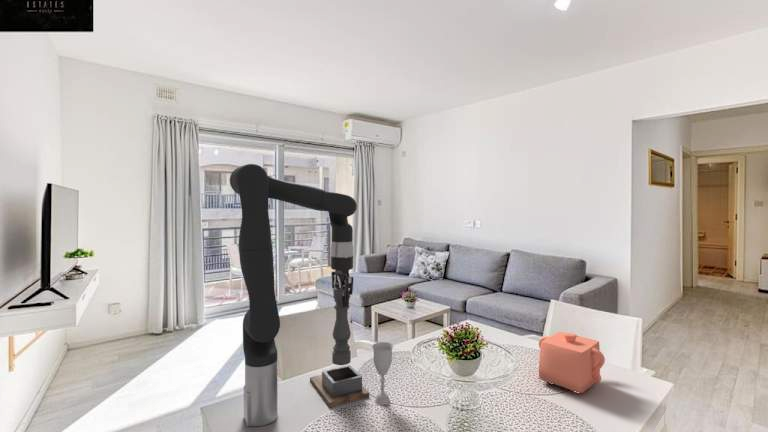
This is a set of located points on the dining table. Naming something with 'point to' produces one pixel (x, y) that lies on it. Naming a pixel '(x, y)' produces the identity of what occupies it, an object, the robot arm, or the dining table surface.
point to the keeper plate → (331, 402)
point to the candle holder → (341, 331)
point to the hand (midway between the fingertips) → (341, 304)
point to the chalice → (382, 367)
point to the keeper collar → (341, 381)
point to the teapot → (570, 361)
